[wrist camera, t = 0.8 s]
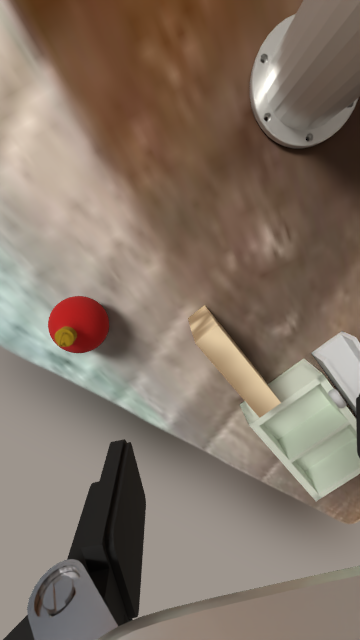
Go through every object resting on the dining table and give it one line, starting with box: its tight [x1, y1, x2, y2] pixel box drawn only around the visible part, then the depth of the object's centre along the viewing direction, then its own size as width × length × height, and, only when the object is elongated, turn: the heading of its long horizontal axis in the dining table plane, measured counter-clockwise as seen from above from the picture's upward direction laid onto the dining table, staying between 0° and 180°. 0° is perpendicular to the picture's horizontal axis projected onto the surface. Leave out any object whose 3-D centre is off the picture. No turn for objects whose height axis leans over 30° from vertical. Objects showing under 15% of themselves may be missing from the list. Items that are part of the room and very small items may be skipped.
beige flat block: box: [188, 305, 281, 418], centre depth 34 cm, size 3×12×10 cm, turn 39°
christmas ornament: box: [48, 296, 109, 353], centre depth 32 cm, size 7×7×10 cm
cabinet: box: [240, 331, 360, 501], centre depth 39 cm, size 19×18×6 cm
